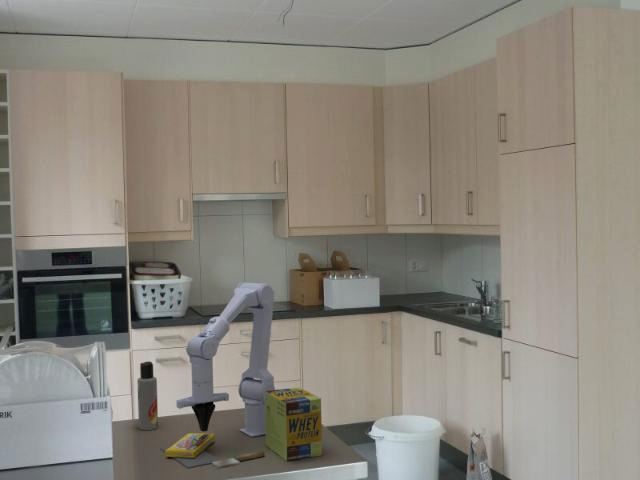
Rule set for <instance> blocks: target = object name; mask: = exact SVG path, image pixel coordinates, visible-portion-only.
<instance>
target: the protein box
mask: <svg viewBox="0 0 640 480" xmlns="http://www.w3.org/2000/svg"><path fill="white" fill-rule="evenodd" d="M265 422H266V434H265V445H266V446H265V447H268V448H269V449H270V450H271V451H273V452H274V453H276V455H278V456H280V457H281V458H282V459H284V461H286V462H290V461H296V460H300V459H301V460H302V459H307V458H312V457H313V458H314V457H319V456H320V457H321V456H323V444H322V442H323V441H322V435H323V434H322V432H323V431H322V429H323V428H322V427H323V426H322V398H321V397H319V396H317V395H315V394H313V393H311V392H310V391H307V390H305V389H304V388H301V387H291V388H290V387H289V388H280V389H279V388H278V389H275V390H269V391H265Z"/></svg>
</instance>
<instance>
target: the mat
mask: <svg viewBox="0 0 640 480" xmlns="http://www.w3.org/2000/svg"><path fill="white" fill-rule="evenodd" d="M173 445H174V444H170V445H165V446H160V447H159V450H161V451H163V452H164V453H165V454H166V452H165V451H166V450H167V449H169V448H170V447H171V446H173ZM171 458H173V459H174V460H175V461H176V462H178V463H180V464H181V465H183V467H185V468H187V469H192V468H196V467H201V466H206V465H211V464H212V462H216V461H220V459H218V458H217V457H216V456H213V454H210V453H208V452H207V451H205V449H204V450H203V451H202V452H201V453H199V454H198V455H197V456H196V457H195V458H182V457H171ZM212 465H213V464H212Z"/></svg>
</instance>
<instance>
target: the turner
mask: <svg viewBox="0 0 640 480" xmlns="http://www.w3.org/2000/svg"><path fill="white" fill-rule="evenodd" d="M261 457H265V451H264V450H261V451H260V450H259V451H255V452H252V453H246V454H245V453H244V454H241V455H237V456H235V457H231V458H227V459H226V458H225V459H221V460H220V459H219V460H220V461H216V462H212V465H213V466H214V467H216V468H217V469H221V468H222V469H223V468H227V467H231V466H232V467H233V466H236V465H240V464H241V462H242V461H247V460H252V459H256V458H261Z"/></svg>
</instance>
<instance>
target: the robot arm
mask: <svg viewBox="0 0 640 480" xmlns="http://www.w3.org/2000/svg"><path fill="white" fill-rule="evenodd" d="M274 299H275V291H274V289H273V287H272V285H270V284H269V283H266V282H264V283H259V282H258V283H257V282H247V281H241V282H240V283H238V285H237V287H236V288H235V289H234V290H233V296H232V298H231V300H230V301H229V302H228V304H227V305H226V307H224V310H223V311H222V312H221V313H220V314H219V315H218V316H214V317H211V318H210V319H209V322H208V323H207V324H206V326H204V328H203V329H202V330H201V331H200V332H199V334H198V335H195V336H193V337H192V338H191V339H189V341H188V342H187V345H186V348H185V351H186V354H187V356H188V357H189V362H190V364H191V367H190V368H191V394H192V395H191V396H188V397H184V398H182V399H177V400H176V408H178V409H179V410H180V409H184V408H187V407H188V408H189V407H191V409H192V411H193V413H194V415H195V418H196V420H197V422H198V427H199V431H201V432H202V433H203V432H208V431H209V424H210V420H211V418H212V415H213V413H214V412H215V409H216V404H215V403H218V402H224V401H225V402H228V401H230V395H229V393H227V392H218V393H217V392H216V393H214V368H213V367H214V365H213V362H214V360H213V358H214V357H215V356H216V355H217V352H218V347H219V346H220V343H221V341H222V340H223V339H224V337H225V336H226V335H227V334H228V332H230V324H231V322H233V320H235V318H236V317H238V315H240V313H241V312H242V311H243V310H244V309H245V308H247V309H248V310H250V313H252V314H253V322H252V333H251V342H250V353H249V360H248V361H249V364H248V368H247V369H246V370H245V371H244V372H242V374H241V379H240V382H239V383H238V387H237V388H238V395H239V397H240V398H241V399H242V402H243V403H244V427H243V428H239V431H240V432H241V433H244V434H245V435H247V436H249V437H252V438H253V437H258V436H263V435H266V422H265V391H269V390H276V388H275V384H274V381H275V377H274V375H273V374H272V373H271V372H270V371H269V370H268V363H269V354H270V341H271V334H272V333H271V332H272V322H273V314H274V313H273V312H274V302H275V301H274Z"/></svg>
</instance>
